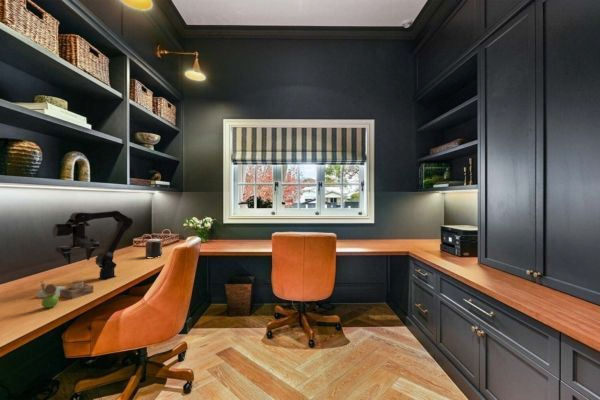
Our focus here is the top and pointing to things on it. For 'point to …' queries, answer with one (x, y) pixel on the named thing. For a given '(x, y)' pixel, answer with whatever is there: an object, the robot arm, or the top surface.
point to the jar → (153, 248)
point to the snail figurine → (49, 295)
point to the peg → (77, 285)
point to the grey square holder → (76, 292)
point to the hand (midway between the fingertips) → (78, 262)
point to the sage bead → (41, 294)
